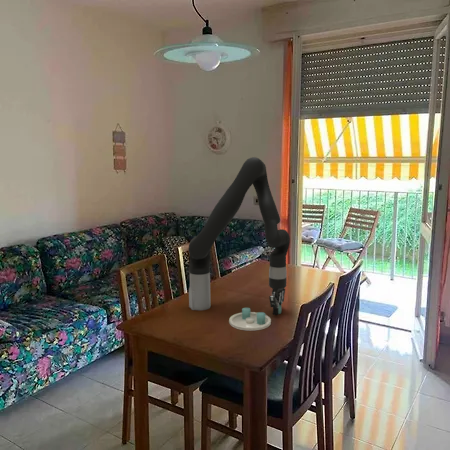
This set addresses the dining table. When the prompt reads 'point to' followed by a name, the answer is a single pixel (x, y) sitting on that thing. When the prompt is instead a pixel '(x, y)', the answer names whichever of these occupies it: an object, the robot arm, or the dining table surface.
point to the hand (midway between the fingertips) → (277, 313)
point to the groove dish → (248, 322)
